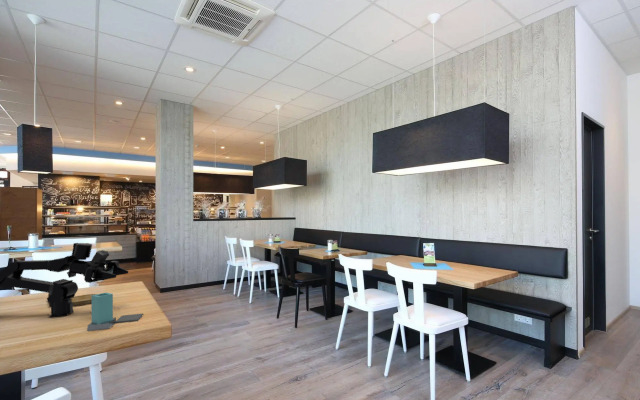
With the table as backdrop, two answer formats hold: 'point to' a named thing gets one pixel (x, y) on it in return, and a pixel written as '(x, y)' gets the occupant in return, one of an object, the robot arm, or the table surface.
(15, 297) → the table surface
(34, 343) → the table surface
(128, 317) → the rubber mat
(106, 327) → the steel stand
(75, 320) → the table surface
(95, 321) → the teal sleeve
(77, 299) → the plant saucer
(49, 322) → the table surface
